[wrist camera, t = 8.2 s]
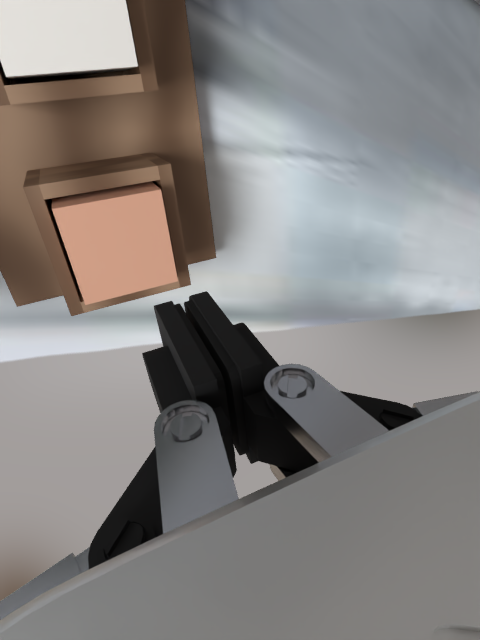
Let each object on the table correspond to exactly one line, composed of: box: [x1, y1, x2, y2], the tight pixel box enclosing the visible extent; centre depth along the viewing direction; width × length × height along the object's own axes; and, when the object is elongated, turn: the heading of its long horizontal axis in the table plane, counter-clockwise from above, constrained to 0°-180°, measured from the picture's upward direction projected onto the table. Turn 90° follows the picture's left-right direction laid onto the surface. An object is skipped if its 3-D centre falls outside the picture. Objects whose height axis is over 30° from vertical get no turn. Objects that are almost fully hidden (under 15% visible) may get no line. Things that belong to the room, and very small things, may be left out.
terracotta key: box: [51, 181, 178, 305], centre depth 25 cm, size 6×6×5 cm
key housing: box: [0, 0, 216, 316], centre depth 23 cm, size 16×22×7 cm
